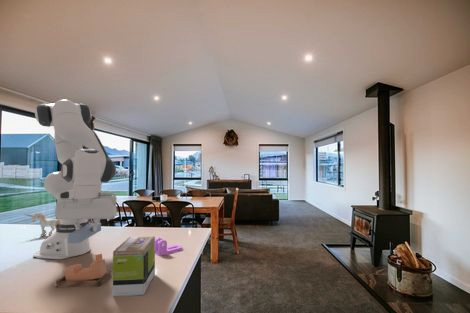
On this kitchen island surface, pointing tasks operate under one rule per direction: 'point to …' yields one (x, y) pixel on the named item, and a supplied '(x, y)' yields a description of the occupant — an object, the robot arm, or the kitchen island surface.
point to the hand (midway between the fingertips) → (86, 231)
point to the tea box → (133, 266)
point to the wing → (82, 233)
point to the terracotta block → (87, 270)
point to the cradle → (82, 282)
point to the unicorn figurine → (45, 222)
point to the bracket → (165, 247)
